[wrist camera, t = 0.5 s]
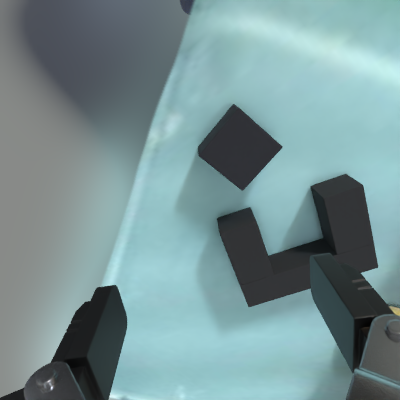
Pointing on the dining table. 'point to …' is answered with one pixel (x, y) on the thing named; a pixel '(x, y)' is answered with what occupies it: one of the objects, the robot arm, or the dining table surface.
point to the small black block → (238, 147)
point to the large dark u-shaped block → (300, 256)
